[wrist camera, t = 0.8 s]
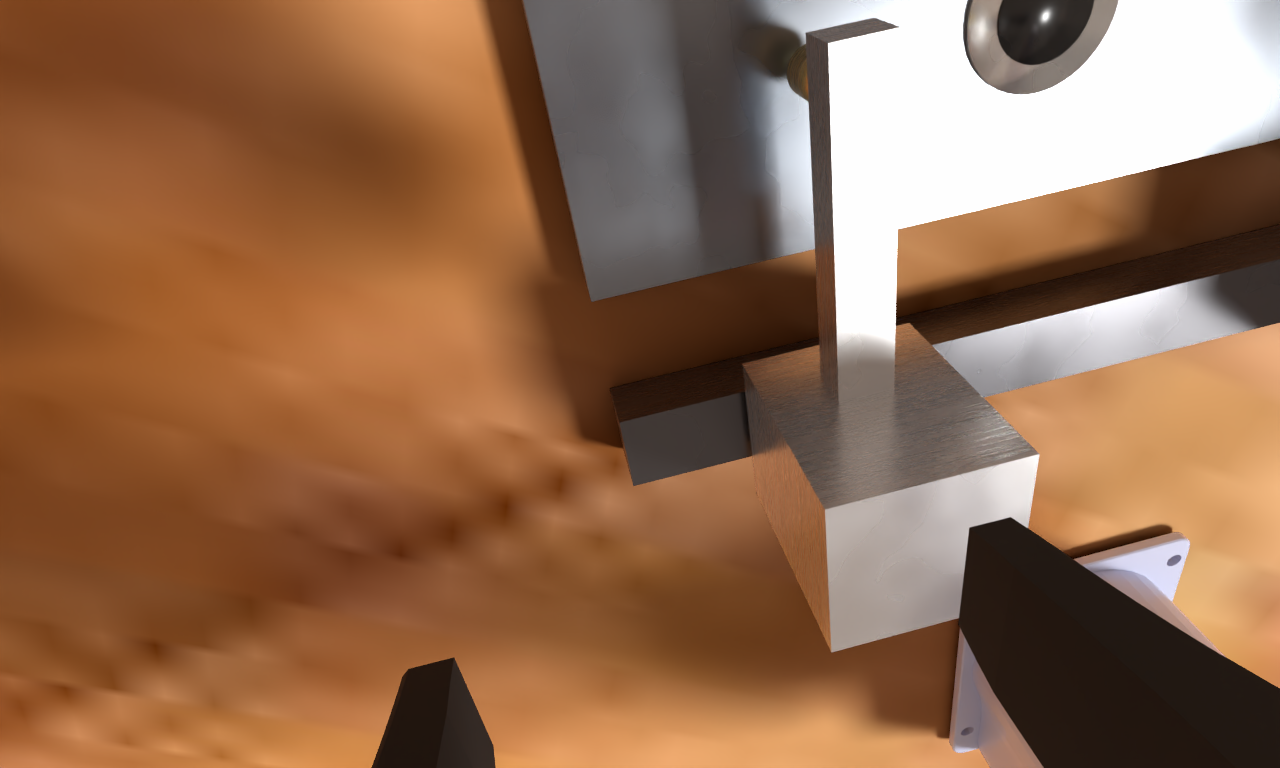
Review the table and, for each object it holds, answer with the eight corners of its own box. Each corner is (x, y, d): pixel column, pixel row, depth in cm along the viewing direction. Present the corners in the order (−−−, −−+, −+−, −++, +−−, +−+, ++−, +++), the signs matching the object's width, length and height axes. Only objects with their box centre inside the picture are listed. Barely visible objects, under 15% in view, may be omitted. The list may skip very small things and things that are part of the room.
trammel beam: (1446, 244, 23) (1503, 265, 21) (623, 449, 21) (633, 486, 20) (1475, 176, 21) (1537, 195, 20) (609, 388, 20) (619, 422, 19)
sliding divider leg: (901, 450, 21) (1017, 602, 16) (754, 488, 20) (831, 653, 16) (914, -11, 15) (1103, 40, 10) (702, 35, 14) (806, 106, 10)
